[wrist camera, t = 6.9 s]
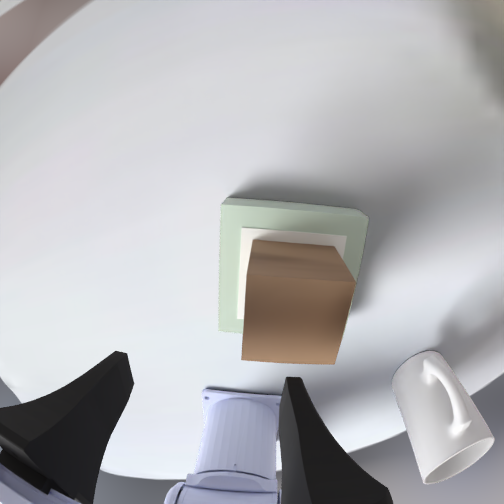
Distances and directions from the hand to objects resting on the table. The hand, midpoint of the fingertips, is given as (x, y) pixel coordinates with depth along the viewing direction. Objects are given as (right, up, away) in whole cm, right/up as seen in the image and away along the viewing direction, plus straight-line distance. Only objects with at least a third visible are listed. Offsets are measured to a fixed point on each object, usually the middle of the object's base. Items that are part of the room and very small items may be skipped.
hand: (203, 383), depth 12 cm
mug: (+19, -5, +12) cm, 23 cm away
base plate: (+5, +5, +9) cm, 11 cm away
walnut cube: (+5, +4, +6) cm, 9 cm away
